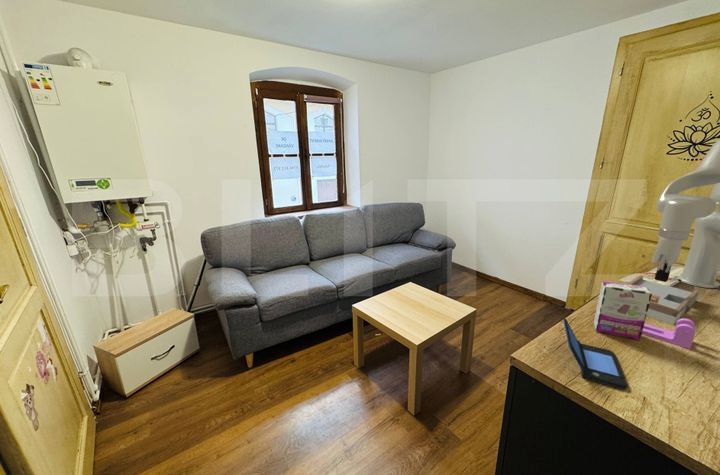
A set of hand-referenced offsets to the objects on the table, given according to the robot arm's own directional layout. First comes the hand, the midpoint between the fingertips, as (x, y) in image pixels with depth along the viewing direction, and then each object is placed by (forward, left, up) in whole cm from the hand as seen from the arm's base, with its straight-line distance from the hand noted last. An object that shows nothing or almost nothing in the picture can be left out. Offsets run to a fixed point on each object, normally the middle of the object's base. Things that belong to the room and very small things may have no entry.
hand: (661, 280), depth 109 cm
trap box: (+1, 0, -9) cm, 9 cm away
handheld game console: (+58, +1, -10) cm, 59 cm away
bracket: (+26, +8, -9) cm, 29 cm away
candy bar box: (+35, -1, -9) cm, 36 cm away
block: (+11, 0, -6) cm, 12 cm away
